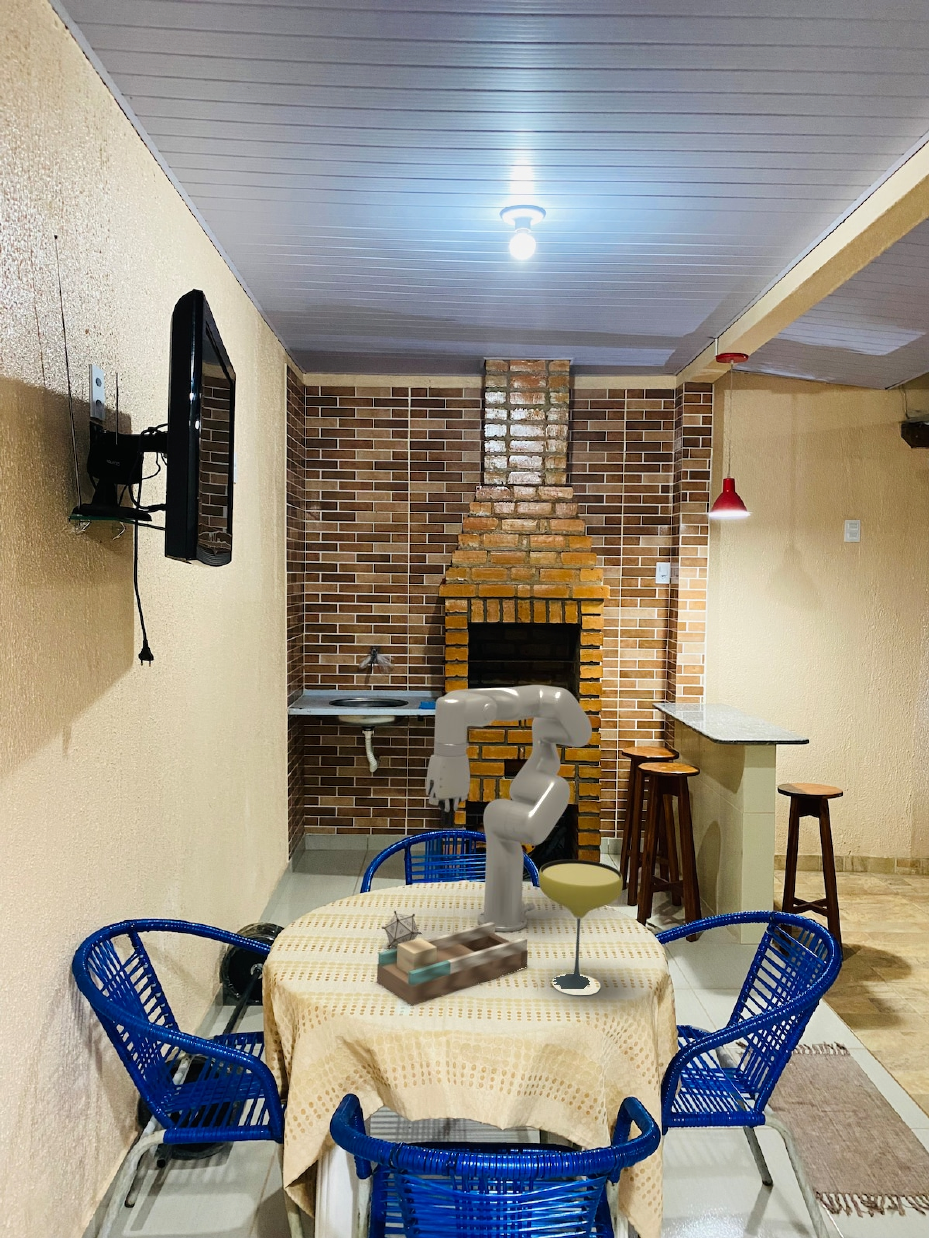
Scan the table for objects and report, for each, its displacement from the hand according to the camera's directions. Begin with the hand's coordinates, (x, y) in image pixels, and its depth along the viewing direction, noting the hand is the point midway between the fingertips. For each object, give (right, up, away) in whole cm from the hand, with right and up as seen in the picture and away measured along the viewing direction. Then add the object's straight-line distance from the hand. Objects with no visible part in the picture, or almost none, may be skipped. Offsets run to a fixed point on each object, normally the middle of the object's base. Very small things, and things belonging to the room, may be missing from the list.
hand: (447, 826), depth 216 cm
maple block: (-6, -26, -20) cm, 33 cm away
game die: (-11, -29, +1) cm, 31 cm away
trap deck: (+2, -30, -13) cm, 33 cm away
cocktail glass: (+28, -31, -16) cm, 45 cm away
